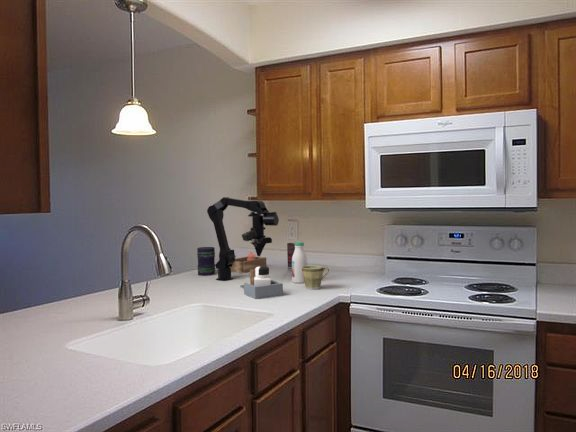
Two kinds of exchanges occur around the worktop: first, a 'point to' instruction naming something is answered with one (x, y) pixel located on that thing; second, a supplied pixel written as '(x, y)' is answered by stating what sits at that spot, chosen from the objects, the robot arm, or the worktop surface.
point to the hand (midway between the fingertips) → (258, 256)
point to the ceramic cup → (313, 276)
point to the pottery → (251, 256)
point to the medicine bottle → (262, 276)
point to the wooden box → (247, 264)
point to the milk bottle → (298, 263)
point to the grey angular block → (263, 290)
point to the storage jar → (206, 261)
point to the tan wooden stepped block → (252, 276)
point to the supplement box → (290, 254)
